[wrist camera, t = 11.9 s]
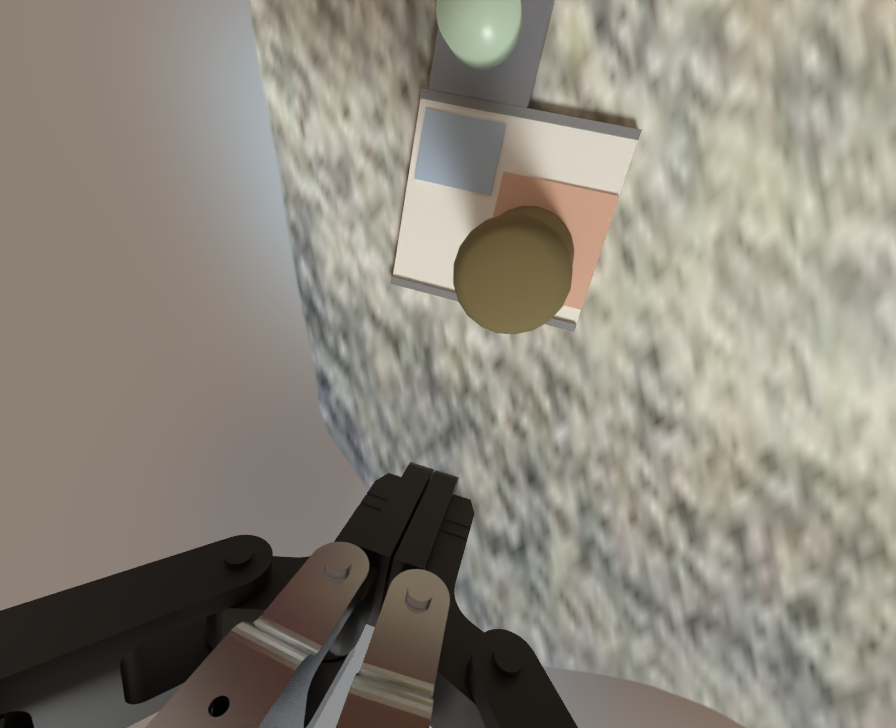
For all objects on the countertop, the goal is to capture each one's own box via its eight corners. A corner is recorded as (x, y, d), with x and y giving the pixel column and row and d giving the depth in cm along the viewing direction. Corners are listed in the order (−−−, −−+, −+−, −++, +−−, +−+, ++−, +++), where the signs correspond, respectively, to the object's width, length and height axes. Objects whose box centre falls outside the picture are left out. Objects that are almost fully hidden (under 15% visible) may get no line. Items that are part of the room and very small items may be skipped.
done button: (532, -16, 21) (529, -43, 19) (512, 76, 23) (507, 62, 21) (456, -28, 22) (445, -54, 20) (441, 63, 23) (429, 48, 21)
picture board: (639, 132, 24) (641, 129, 24) (573, 328, 29) (574, 331, 28) (424, 91, 26) (420, 87, 26) (394, 281, 31) (390, 283, 30)
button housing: (558, -14, 23) (558, -23, 22) (527, 111, 25) (527, 107, 24) (452, -29, 24) (448, -39, 23) (432, 92, 26) (428, 88, 25)
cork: (520, 320, 29) (500, 379, 19) (460, 252, 28) (406, 275, 18) (595, 258, 26) (618, 288, 16) (531, 183, 26) (515, 165, 16)
